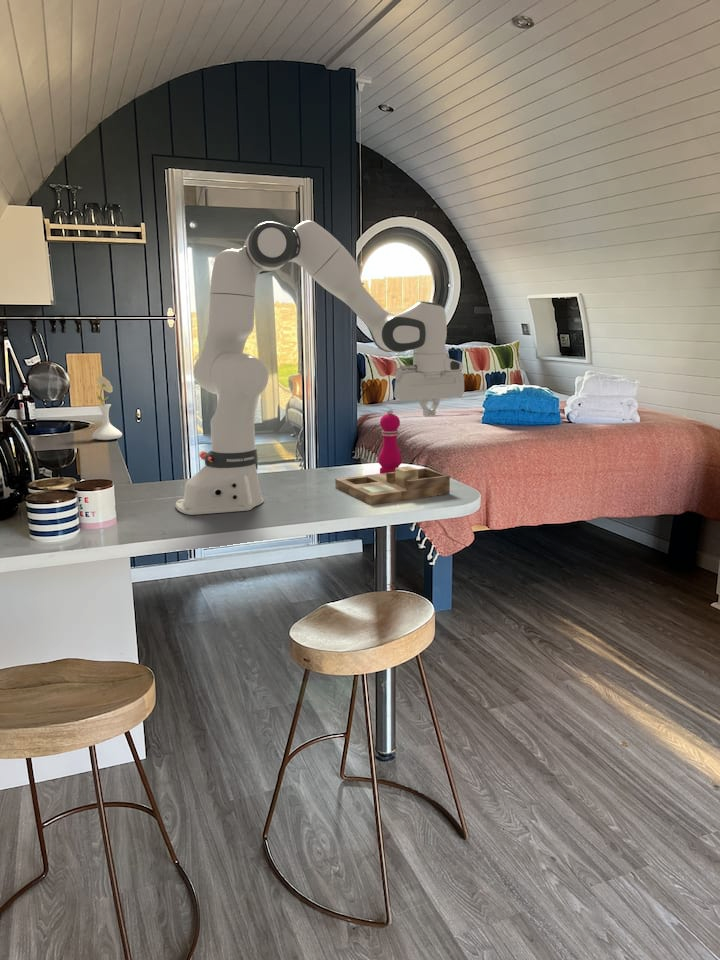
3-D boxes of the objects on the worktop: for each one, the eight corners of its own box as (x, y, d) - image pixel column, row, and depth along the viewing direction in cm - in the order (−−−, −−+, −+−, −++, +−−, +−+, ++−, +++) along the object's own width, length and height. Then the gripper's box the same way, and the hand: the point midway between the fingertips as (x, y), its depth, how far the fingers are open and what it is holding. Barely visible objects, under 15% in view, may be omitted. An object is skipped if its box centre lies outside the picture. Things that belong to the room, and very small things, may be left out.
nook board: (371, 504, 192) (370, 486, 191) (335, 487, 211) (335, 470, 210) (449, 493, 202) (449, 476, 201) (408, 478, 222) (408, 461, 221)
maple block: (403, 487, 200) (403, 470, 199) (395, 484, 204) (395, 467, 203) (418, 485, 202) (418, 469, 201) (409, 482, 206) (409, 466, 205)
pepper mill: (402, 471, 231) (402, 407, 227) (401, 476, 224) (401, 410, 220) (379, 471, 232) (378, 407, 227) (377, 476, 225) (376, 410, 220)
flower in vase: (125, 440, 294) (120, 376, 289) (95, 443, 289) (89, 378, 283) (118, 435, 305) (112, 374, 300) (89, 438, 300) (83, 375, 294)
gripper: (401, 366, 191) (401, 420, 195) (467, 363, 200) (467, 414, 203) (389, 365, 197) (390, 417, 200) (454, 361, 206) (454, 411, 209)
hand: (429, 415), depth 202 cm, fingers closed
